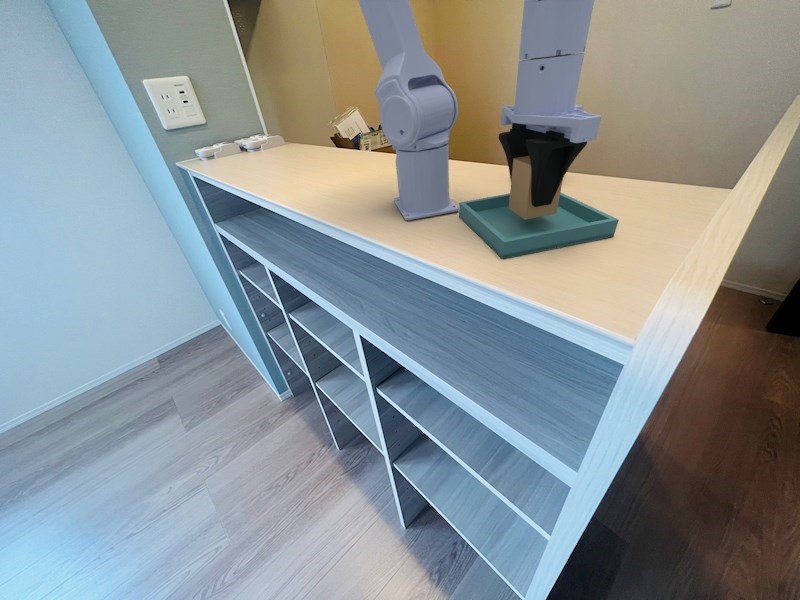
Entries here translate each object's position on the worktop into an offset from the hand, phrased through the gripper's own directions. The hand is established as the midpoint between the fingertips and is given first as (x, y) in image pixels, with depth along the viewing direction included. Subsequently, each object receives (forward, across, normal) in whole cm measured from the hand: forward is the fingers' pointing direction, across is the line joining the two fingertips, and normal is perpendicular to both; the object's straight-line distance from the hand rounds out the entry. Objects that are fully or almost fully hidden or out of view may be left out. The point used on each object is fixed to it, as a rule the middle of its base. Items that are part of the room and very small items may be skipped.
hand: (531, 198), depth 38 cm
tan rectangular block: (+2, 0, 0) cm, 2 cm away
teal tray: (+3, 0, 0) cm, 3 cm away
